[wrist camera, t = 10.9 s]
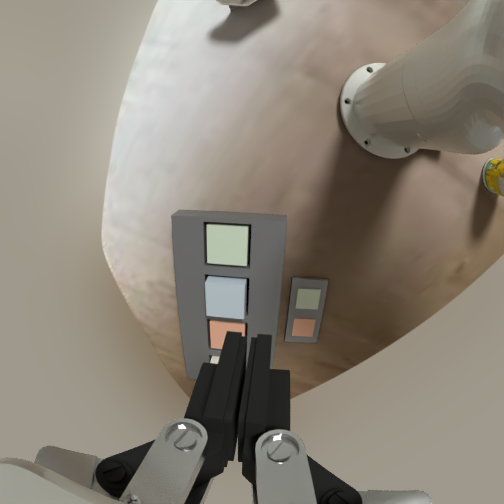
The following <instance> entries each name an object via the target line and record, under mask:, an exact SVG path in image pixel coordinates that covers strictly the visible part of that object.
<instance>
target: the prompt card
mask: <svg viewBox="0 0 504 504" xmlns="http://www.w3.org/2000/svg"><path fill="white" fill-rule="evenodd" d="M327 287H328V279H318V278H302V277H292V285H291V293H290V302H289V310H288V319H287V326H286V334H285V342H302V343H317V339H318V334H319V329H320V324H321V319H322V314H323V309H324V304H325V298H326V293H327Z"/></svg>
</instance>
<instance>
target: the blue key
mask: <svg viewBox="0 0 504 504" xmlns="http://www.w3.org/2000/svg"><path fill="white" fill-rule="evenodd" d="M205 294H206V315H207V316H214V317H223V318H234V319H244V317H245V312H246V299H247V278H244V277H231V276H219V275H209V276H208V278H207V280H206V282H205Z"/></svg>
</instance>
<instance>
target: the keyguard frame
mask: <svg viewBox="0 0 504 504" xmlns="http://www.w3.org/2000/svg"><path fill="white" fill-rule="evenodd" d="M171 218H172V238H173V253H174V267H175V279H176V290H177V300H178V310H179V319H180V327H181V335H182V343H183V350H184V357H185V364H186V370H187V377H188V379H194V380H197V378H198V375H199V372H200V369H201V366H202V364H203V362H206V363H210V361H211V358H212V356H220V354H221V350H222V349H216V348H211V338H210V319H213V320H222V321H232V322H243V323H248V332H247V355H246V368H247V362H248V356H249V349H250V343H251V337H257V334H268V335H272V344H271V360H270V369H273V361H274V353H275V344H276V335H277V326H278V316H279V306H280V296H281V286H282V275H283V264H284V252H285V240H286V227H287V217H286V215H273V214H258V213H240V212H220V211H197V210H178V211H177V212H176V213H174V214H173V215H171ZM209 222H220V223H238V224H252V225H251V251H250V260H248V263H247V266H238V265H225V264H212V263H207V224H208V223H209ZM209 275H219V276H231V277H244V278H249V304H246V312H245V317H244V319H234V318H223V317H214V316H207V315H206V294H205V282H206V280H207V278H208V276H209Z"/></svg>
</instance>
